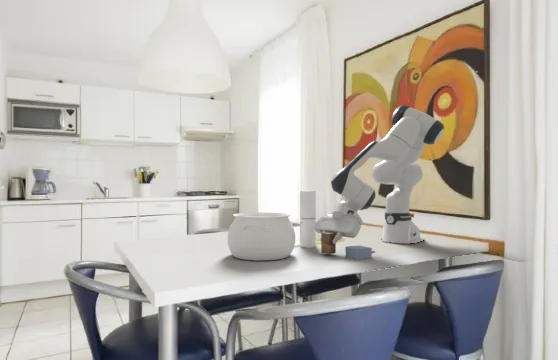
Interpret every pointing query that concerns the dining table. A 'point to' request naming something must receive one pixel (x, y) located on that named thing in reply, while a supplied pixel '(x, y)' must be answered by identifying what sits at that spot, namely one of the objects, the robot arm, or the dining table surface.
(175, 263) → the dining table surface
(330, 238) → the walnut block
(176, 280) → the dining table surface
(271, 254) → the pot
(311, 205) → the cylindrical container
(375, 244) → the dining table surface
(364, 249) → the slate block
